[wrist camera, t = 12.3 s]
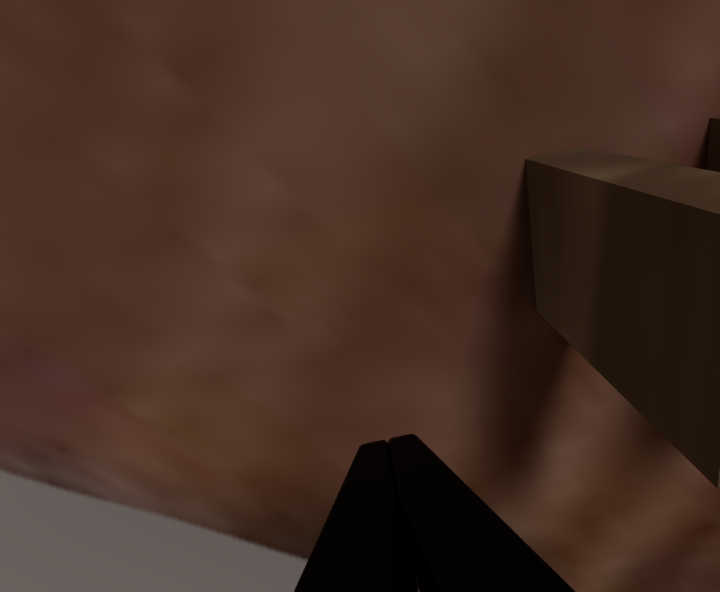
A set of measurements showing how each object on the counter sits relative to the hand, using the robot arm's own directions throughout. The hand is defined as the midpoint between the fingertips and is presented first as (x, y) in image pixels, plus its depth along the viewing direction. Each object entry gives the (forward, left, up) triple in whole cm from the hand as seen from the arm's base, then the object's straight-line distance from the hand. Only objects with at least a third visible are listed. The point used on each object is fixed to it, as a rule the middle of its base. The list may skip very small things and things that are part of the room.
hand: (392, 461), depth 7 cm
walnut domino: (-6, 0, -9) cm, 11 cm away
